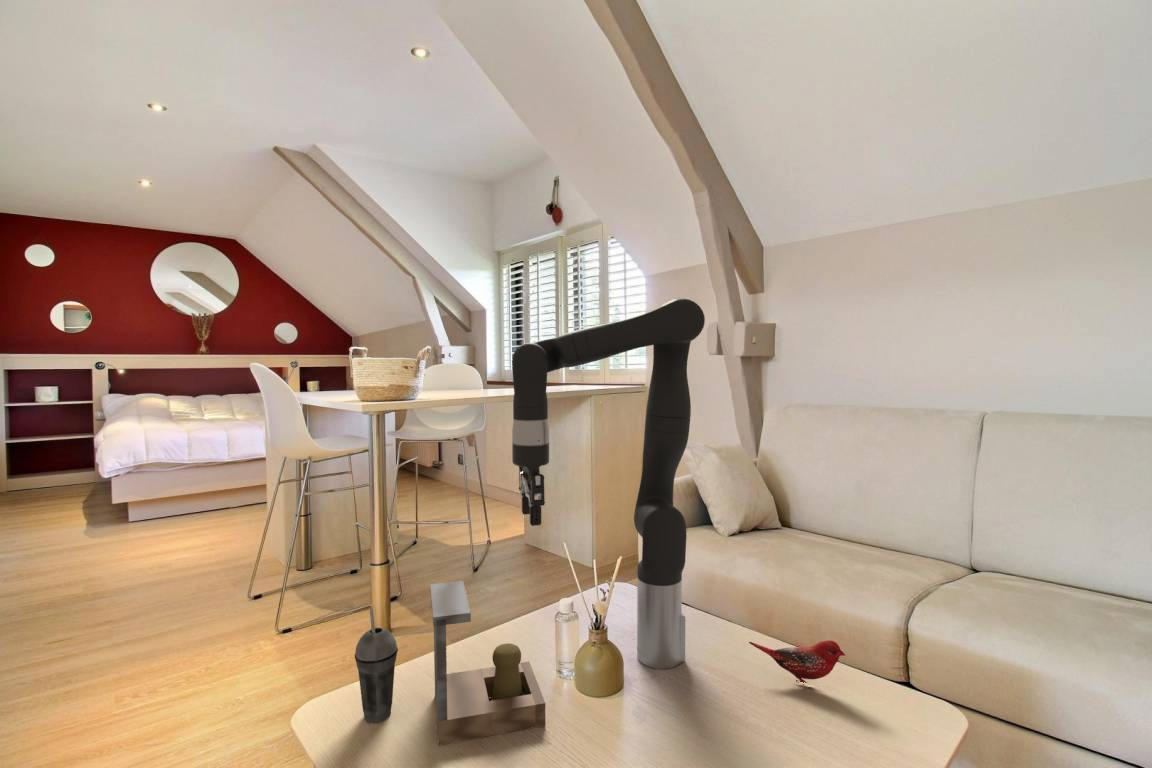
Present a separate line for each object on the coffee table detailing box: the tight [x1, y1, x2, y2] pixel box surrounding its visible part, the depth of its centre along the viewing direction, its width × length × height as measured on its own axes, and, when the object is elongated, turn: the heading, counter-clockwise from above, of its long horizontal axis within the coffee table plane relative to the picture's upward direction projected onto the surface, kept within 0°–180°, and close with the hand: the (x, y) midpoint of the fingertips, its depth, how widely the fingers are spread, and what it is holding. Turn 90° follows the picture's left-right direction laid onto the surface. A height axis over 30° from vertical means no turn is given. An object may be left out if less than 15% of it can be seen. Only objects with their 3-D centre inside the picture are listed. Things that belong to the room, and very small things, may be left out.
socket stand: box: [429, 580, 546, 746], centre depth 103 cm, size 18×14×22 cm
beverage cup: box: [354, 607, 399, 724], centre depth 102 cm, size 7×7×20 cm
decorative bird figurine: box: [748, 639, 847, 683], centre depth 112 cm, size 3×18×10 cm, turn 62°
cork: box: [491, 642, 524, 701], centre depth 105 cm, size 6×6×11 cm
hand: (531, 519), depth 119 cm, fingers open, 8 cm apart
